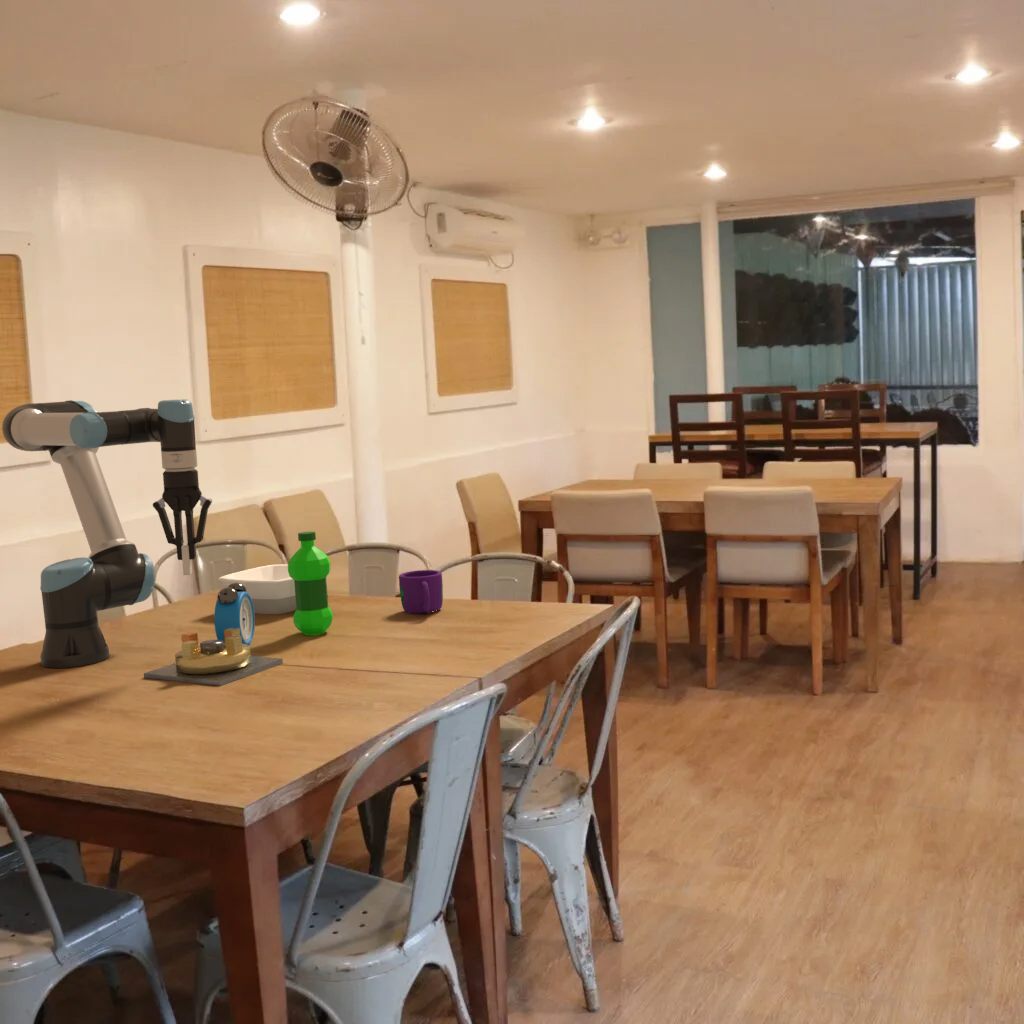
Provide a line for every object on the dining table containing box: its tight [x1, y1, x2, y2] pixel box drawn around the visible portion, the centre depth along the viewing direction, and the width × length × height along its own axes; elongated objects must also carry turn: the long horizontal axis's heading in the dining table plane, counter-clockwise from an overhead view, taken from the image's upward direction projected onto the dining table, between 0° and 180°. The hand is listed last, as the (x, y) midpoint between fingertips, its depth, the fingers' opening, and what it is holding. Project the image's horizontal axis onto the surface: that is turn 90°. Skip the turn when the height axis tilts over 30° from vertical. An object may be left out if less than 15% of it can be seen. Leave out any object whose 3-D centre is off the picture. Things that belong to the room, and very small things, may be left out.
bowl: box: [218, 563, 331, 615], centre depth 336 cm, size 24×25×10 cm
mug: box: [398, 569, 444, 615], centre depth 319 cm, size 17×11×10 cm, turn 12°
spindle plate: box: [143, 655, 284, 687], centre depth 269 cm, size 22×20×1 cm
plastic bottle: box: [287, 531, 334, 636], centre depth 300 cm, size 10×10×25 cm
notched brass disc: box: [174, 628, 252, 674], centre depth 268 cm, size 16×16×6 cm
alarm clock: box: [213, 582, 256, 647], centre depth 290 cm, size 13×6×15 cm, turn 176°
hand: (187, 573), depth 275 cm, fingers closed
